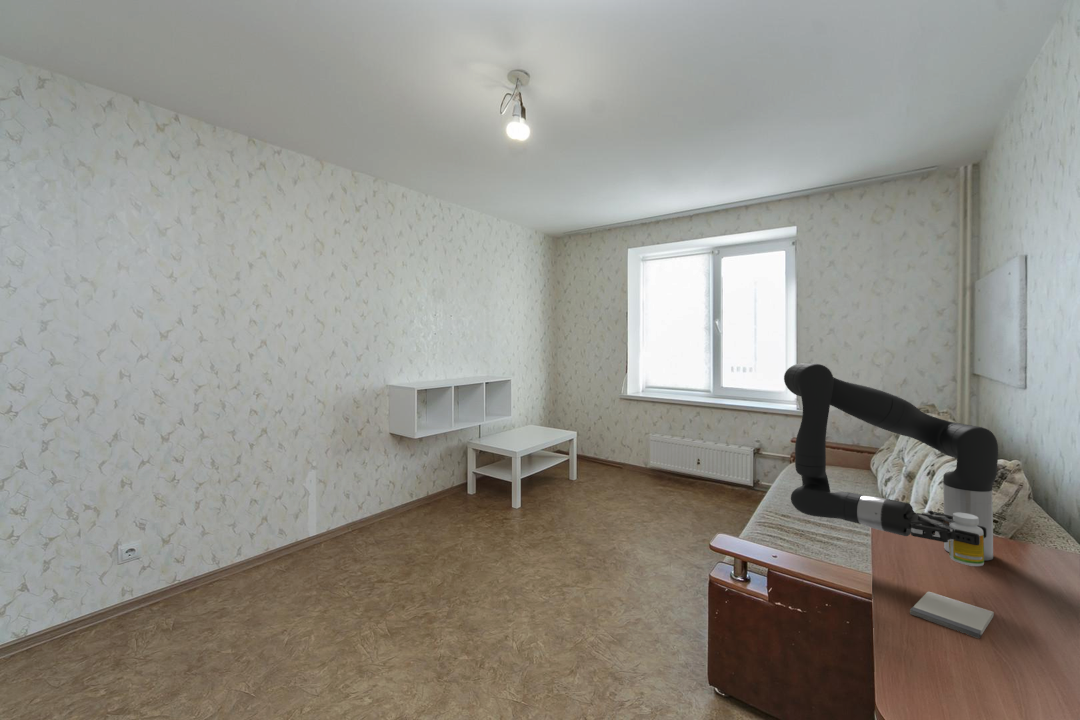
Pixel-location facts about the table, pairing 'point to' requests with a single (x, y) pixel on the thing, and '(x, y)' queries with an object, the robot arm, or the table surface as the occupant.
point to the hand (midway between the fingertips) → (982, 536)
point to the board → (952, 614)
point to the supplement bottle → (965, 551)
